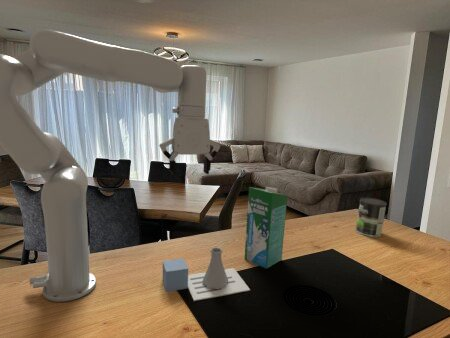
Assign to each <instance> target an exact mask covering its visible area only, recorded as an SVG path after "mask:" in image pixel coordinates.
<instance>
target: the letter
mask: <svg viewBox="0 0 450 338" xmlns="http://www.w3.org/2000/svg"><path fill="white" fill-rule="evenodd" d="M224 270H225V273H226V275H227V278H228V282H227V284H226V286H225V287H222V288H220V289H213V288H208V287H206V286H205V285H204V284H203V283H202V281H203V278H204V276H205V274H206V272H207V271H206V272H205V271H203V272H200V273H198V272H197V273H191V274H188V288H187V289H188V291H189V294H190V295H191V299H193V302H196V301H201V300H209V299H213V298H217V297H218V298H219V297H223V296H228V295H234V294H238V293H243V292H249V291H251V289H250V288H249V286H248V285H247V284H246V282H245V281H244V279H243V278H242V277H241V275H240V274H239V273H238V272H237V270H236V269H235V268H234V267H231V268H230V267H229V268H224Z"/></svg>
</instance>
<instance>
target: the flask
mask: <svg viewBox="0 0 450 338" xmlns="http://www.w3.org/2000/svg"><path fill="white" fill-rule="evenodd" d="M210 253H211V255H210V260H209V264H208V266H207V269H206V274H205V276H204V278H203V281H202V283H203V284H204V285H205V286H206V287H208V288H213V289H220V288H222V287H225V286H226V284H227V282H228V278H227V275H226V273H225V270H224V269H225V268H224V265H223V260H222V253H223V248H221V247H211V249H210Z"/></svg>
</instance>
